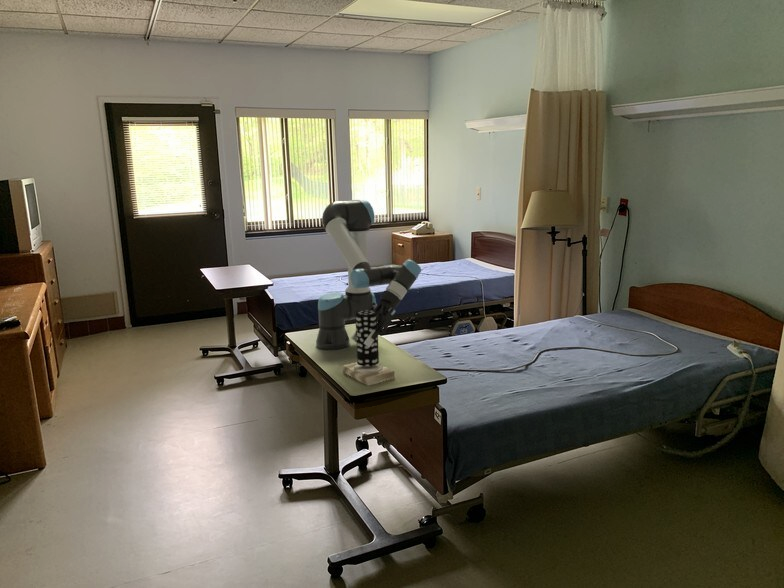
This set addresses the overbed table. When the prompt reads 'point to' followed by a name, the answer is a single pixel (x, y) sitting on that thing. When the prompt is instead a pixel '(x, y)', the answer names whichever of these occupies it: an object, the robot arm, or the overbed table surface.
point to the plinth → (368, 373)
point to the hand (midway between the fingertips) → (359, 342)
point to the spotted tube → (364, 327)
